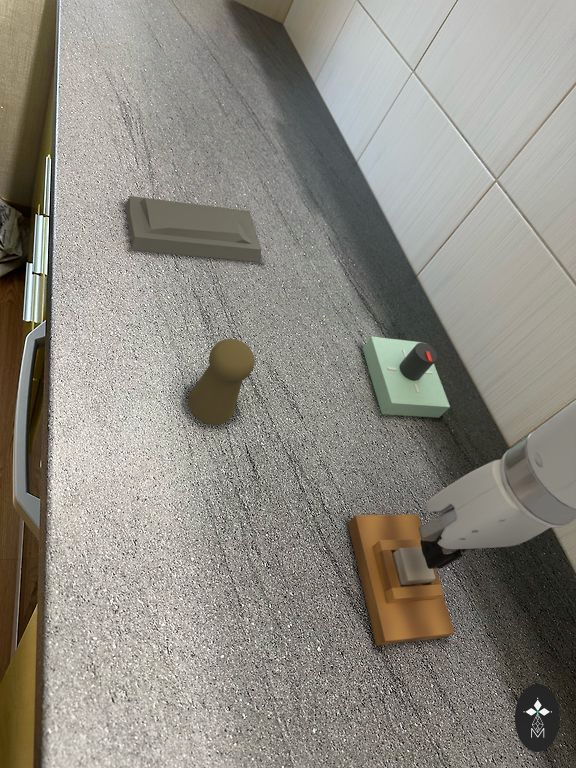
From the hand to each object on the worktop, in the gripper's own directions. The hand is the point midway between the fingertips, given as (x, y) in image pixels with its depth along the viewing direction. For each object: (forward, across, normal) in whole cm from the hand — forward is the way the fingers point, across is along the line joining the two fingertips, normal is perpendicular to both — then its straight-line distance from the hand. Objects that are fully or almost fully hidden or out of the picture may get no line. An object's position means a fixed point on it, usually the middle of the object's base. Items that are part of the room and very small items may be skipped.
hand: (430, 554), depth 61 cm
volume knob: (+5, -10, -29) cm, 31 cm away
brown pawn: (+8, +20, -23) cm, 31 cm away
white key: (+5, 0, 0) cm, 5 cm away
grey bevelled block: (+8, +20, -55) cm, 59 cm away
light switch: (+8, 0, 0) cm, 8 cm away
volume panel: (+8, -10, -29) cm, 32 cm away
